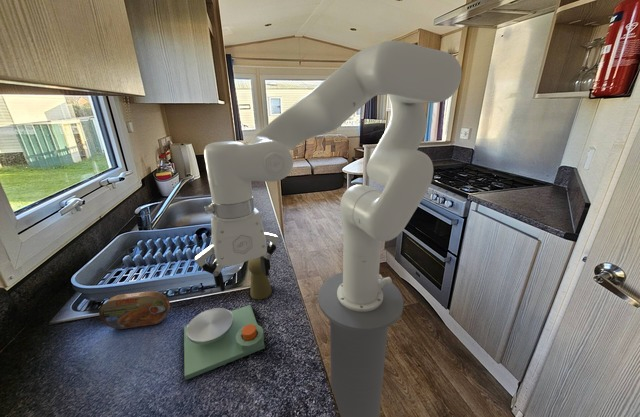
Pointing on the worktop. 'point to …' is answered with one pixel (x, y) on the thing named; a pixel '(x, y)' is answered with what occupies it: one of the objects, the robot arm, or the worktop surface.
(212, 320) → the pan
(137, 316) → the tin
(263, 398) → the worktop surface
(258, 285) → the olive game pawn
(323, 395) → the worktop surface
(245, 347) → the scale
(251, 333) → the tare button
